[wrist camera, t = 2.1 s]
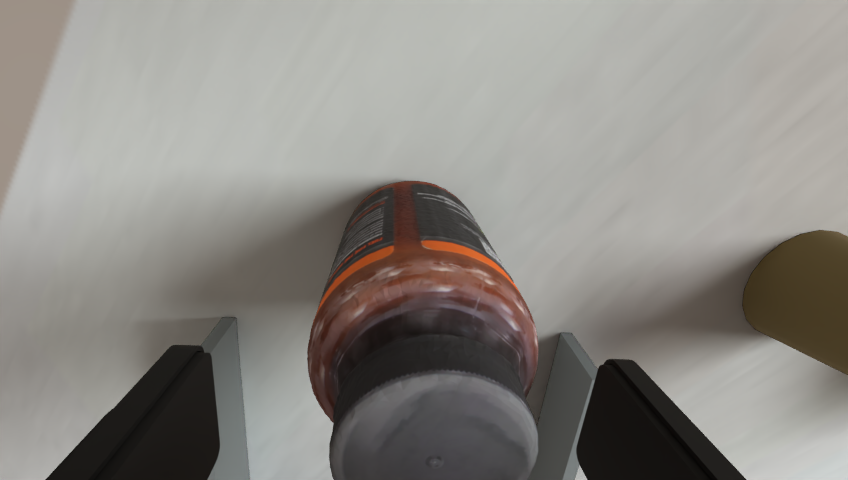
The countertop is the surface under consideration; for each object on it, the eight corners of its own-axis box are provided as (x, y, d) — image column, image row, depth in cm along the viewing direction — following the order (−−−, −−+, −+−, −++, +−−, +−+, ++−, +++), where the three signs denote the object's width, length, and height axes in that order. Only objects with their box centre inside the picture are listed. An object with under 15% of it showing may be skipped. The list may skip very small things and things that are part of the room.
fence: (222, 317, 18) (185, 365, 15) (572, 333, 20) (605, 380, 17) (242, 514, 23) (216, 584, 20) (524, 514, 25) (543, 579, 21)
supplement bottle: (331, 282, 18) (238, 544, 8) (365, 159, 16) (304, 281, 6) (451, 313, 19) (517, 583, 9) (496, 200, 17) (650, 370, 7)
